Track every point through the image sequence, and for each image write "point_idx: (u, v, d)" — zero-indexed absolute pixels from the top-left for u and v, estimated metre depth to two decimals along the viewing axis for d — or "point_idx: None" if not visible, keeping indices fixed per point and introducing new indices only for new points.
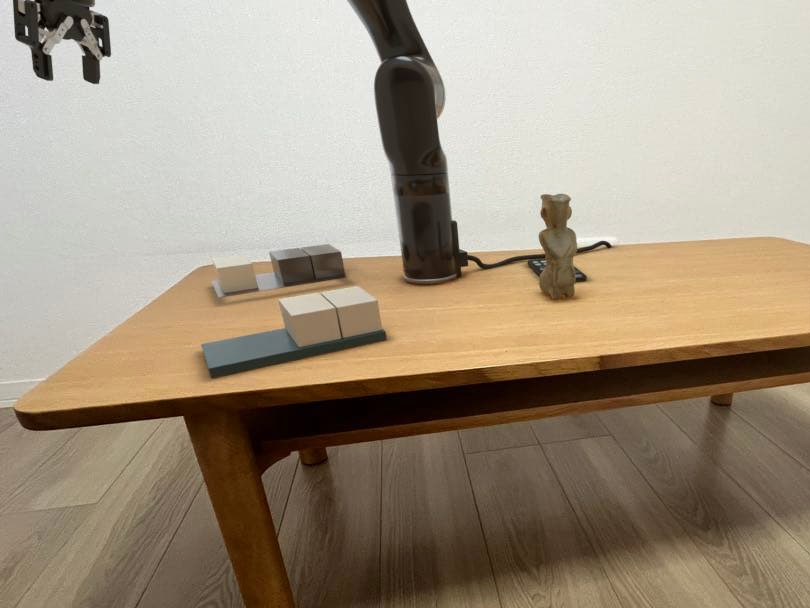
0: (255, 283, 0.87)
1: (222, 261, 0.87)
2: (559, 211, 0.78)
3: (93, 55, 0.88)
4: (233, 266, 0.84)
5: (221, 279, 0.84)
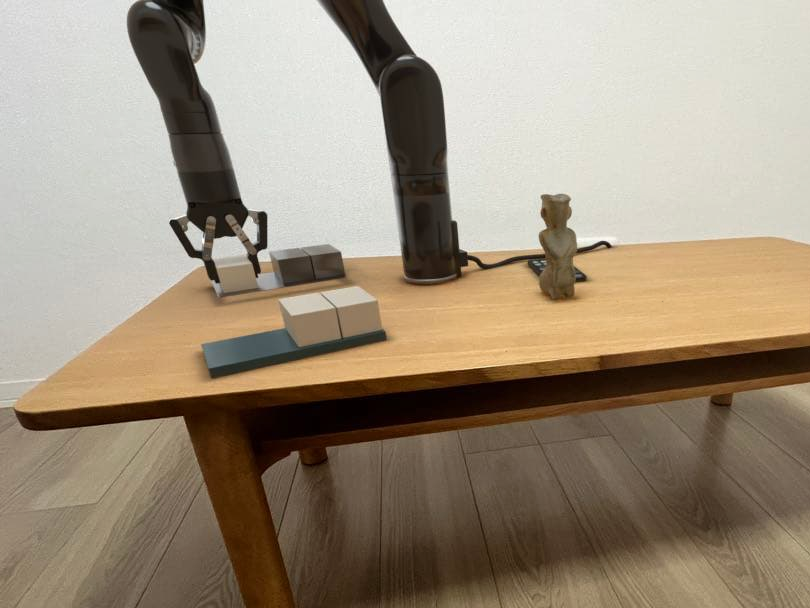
0: (255, 283, 0.87)
1: (222, 261, 0.87)
2: (559, 211, 0.78)
3: (247, 251, 0.87)
4: (233, 266, 0.84)
5: (221, 279, 0.84)
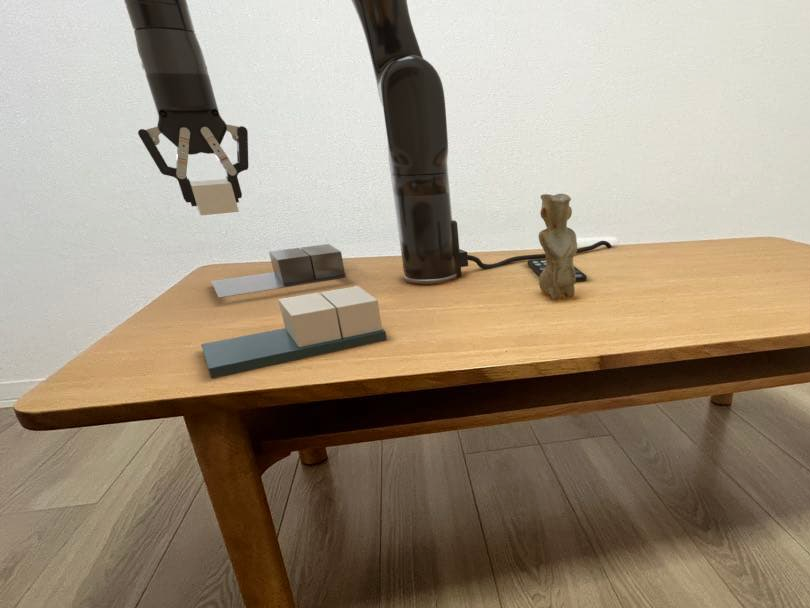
0: (234, 206, 0.79)
1: (199, 182, 0.80)
2: (559, 211, 0.78)
3: (226, 172, 0.80)
4: (210, 185, 0.77)
5: (197, 199, 0.77)
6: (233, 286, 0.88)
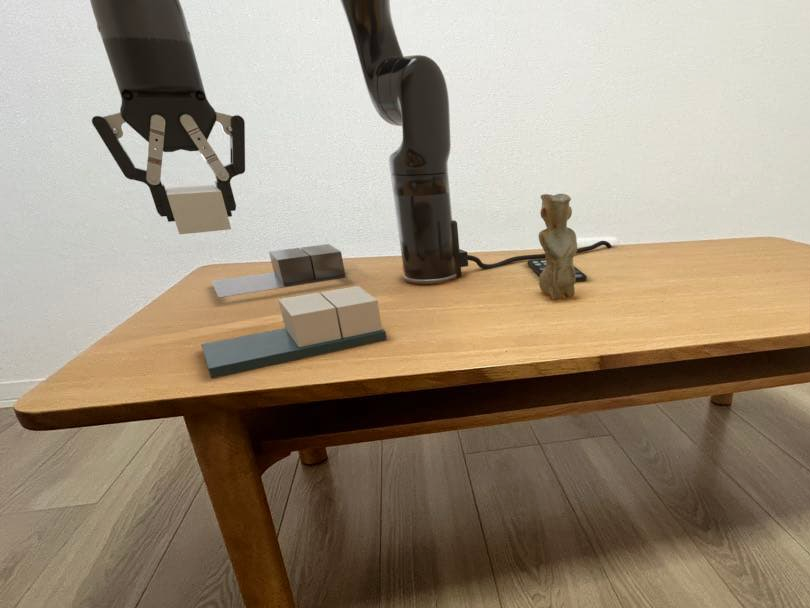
0: (226, 222, 0.59)
1: (178, 189, 0.59)
2: (559, 211, 0.78)
3: (215, 176, 0.60)
4: (192, 193, 0.57)
5: (174, 212, 0.56)
6: (233, 286, 0.88)
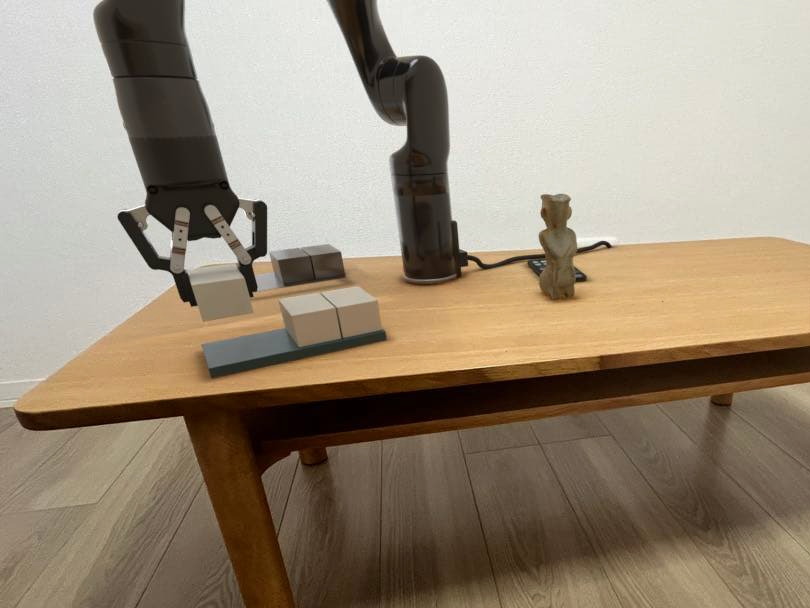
0: (249, 307, 0.59)
1: (201, 274, 0.59)
2: (559, 211, 0.78)
3: None
4: (216, 282, 0.57)
5: (198, 301, 0.56)
6: None
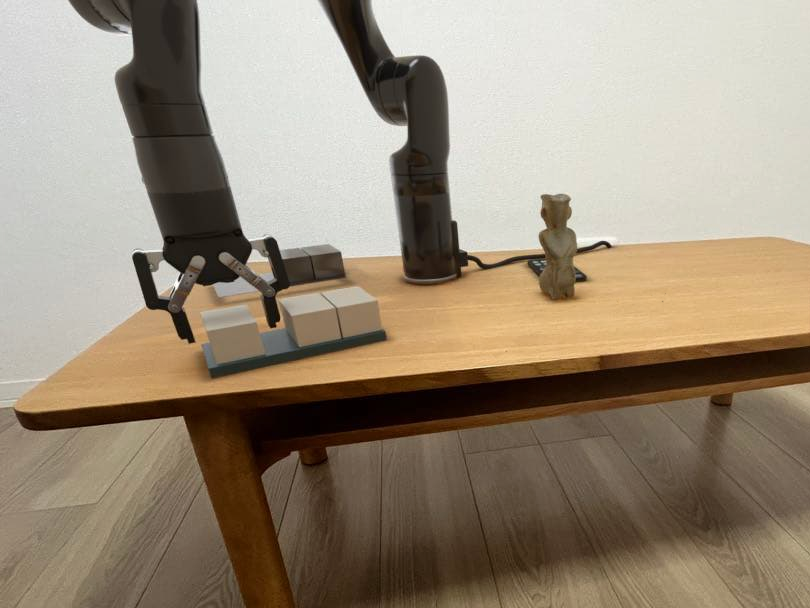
0: (260, 349, 0.62)
1: (214, 317, 0.62)
2: (559, 211, 0.78)
3: (262, 293, 0.62)
4: (230, 327, 0.59)
5: (213, 346, 0.59)
6: (233, 286, 0.88)
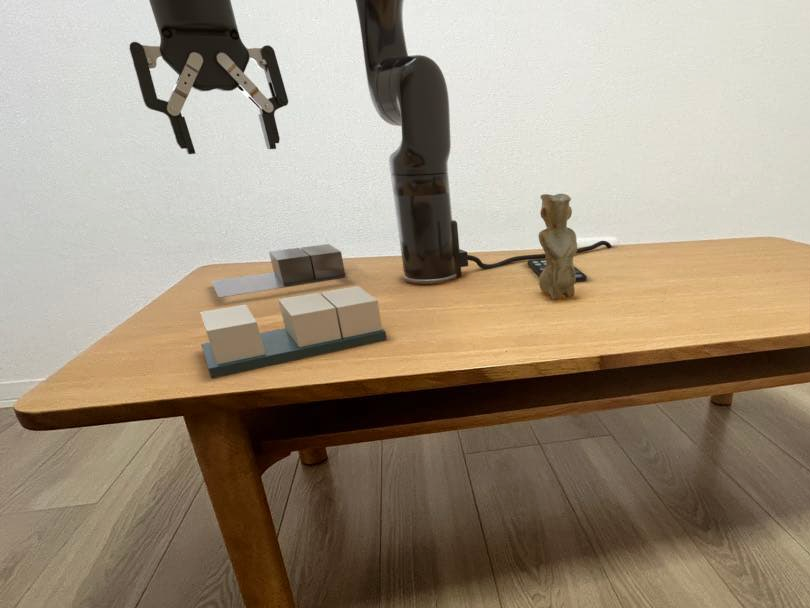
0: (260, 349, 0.62)
1: (214, 317, 0.62)
2: (559, 211, 0.78)
3: (260, 107, 0.62)
4: (230, 327, 0.59)
5: (213, 346, 0.59)
6: (233, 286, 0.88)
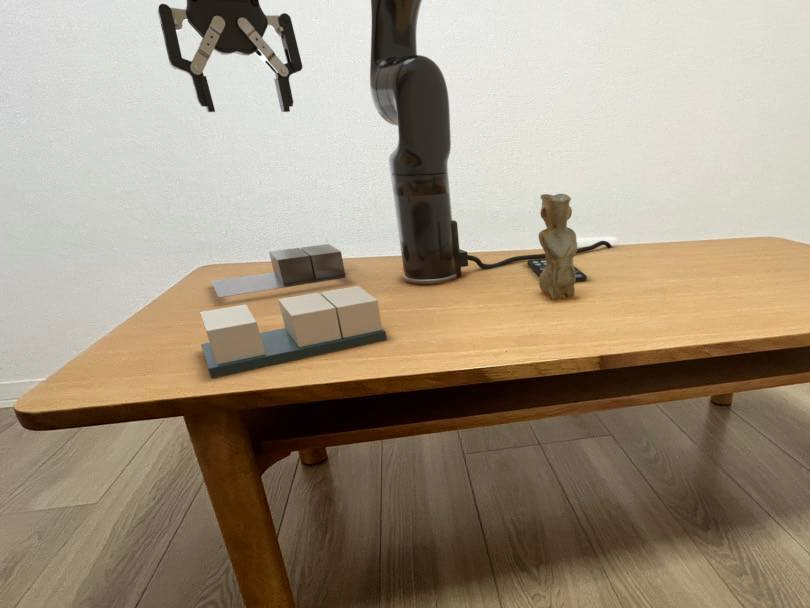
0: (260, 349, 0.62)
1: (214, 317, 0.62)
2: (559, 211, 0.78)
3: (276, 72, 0.67)
4: (230, 327, 0.59)
5: (213, 346, 0.59)
6: (233, 286, 0.88)
